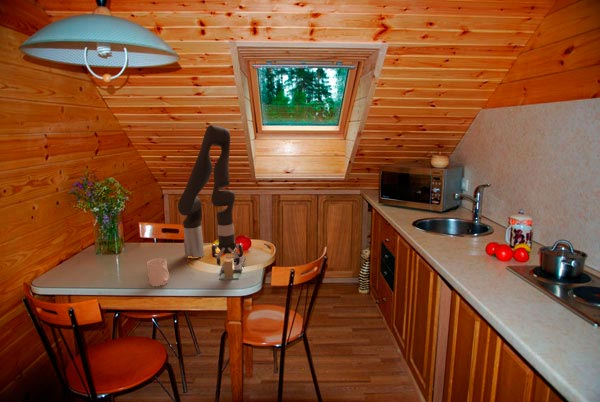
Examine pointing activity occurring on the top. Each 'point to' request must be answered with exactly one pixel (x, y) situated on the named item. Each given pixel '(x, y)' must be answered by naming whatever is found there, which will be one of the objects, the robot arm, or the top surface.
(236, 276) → the pad
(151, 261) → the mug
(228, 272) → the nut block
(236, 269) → the rail plate
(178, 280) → the top surface
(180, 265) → the top surface
